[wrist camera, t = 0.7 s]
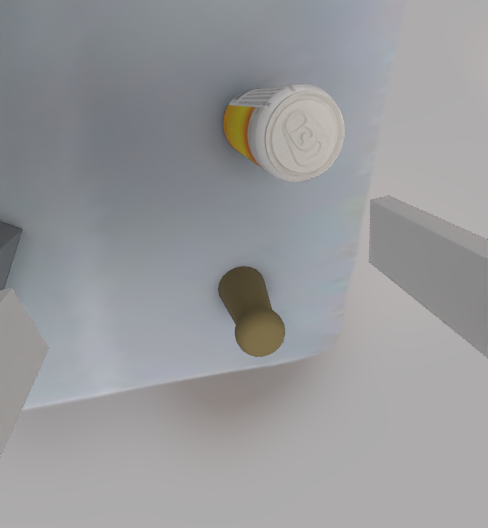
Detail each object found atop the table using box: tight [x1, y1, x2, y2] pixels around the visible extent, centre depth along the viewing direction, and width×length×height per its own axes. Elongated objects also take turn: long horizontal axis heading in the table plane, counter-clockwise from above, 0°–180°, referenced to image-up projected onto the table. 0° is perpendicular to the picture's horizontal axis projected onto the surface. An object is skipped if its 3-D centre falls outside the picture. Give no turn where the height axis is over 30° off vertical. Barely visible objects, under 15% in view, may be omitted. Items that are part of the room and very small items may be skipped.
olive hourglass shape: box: [218, 266, 285, 357], centre depth 38 cm, size 6×6×11 cm
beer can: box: [223, 84, 345, 182], centre depth 28 cm, size 6×6×15 cm
